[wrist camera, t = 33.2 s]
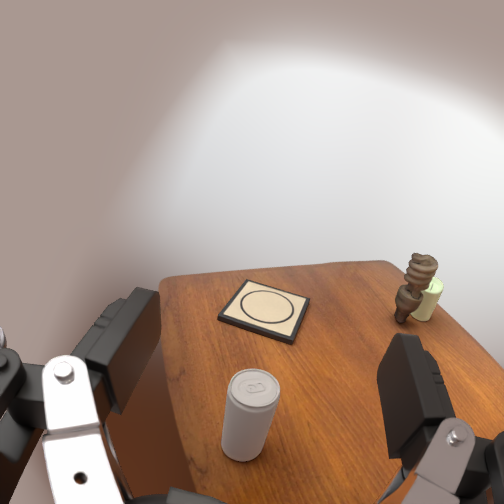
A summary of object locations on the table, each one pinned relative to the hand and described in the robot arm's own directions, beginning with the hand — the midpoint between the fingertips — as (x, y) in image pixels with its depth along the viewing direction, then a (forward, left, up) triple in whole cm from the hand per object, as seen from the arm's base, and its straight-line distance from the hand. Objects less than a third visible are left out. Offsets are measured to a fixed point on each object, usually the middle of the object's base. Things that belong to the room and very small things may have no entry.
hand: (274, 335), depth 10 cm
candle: (+22, +51, -28) cm, 62 cm away
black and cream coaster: (-8, +37, -28) cm, 47 cm away
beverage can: (-2, +11, -28) cm, 30 cm away
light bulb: (+17, +46, -28) cm, 56 cm away
